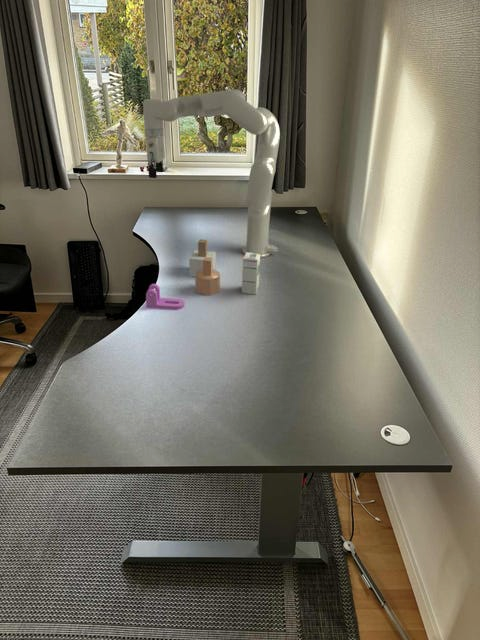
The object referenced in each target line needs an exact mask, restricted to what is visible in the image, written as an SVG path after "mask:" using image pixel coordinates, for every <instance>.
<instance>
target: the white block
mask: <svg viewBox="0 0 480 640" xmlns="http://www.w3.org/2000/svg"><path fill="white" fill-rule="evenodd" d="M204 257H210V258H213V269H214V270H216V263H217V262H216V259H217V258H216V251H210V250H208V240H207V239H199V240H198V242H197V249H194V250H193V252H192V253H191V255H190V257H189V277H194V278H195V276H196V272H197V271H198V270H201V269H203V259H204Z"/></svg>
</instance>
